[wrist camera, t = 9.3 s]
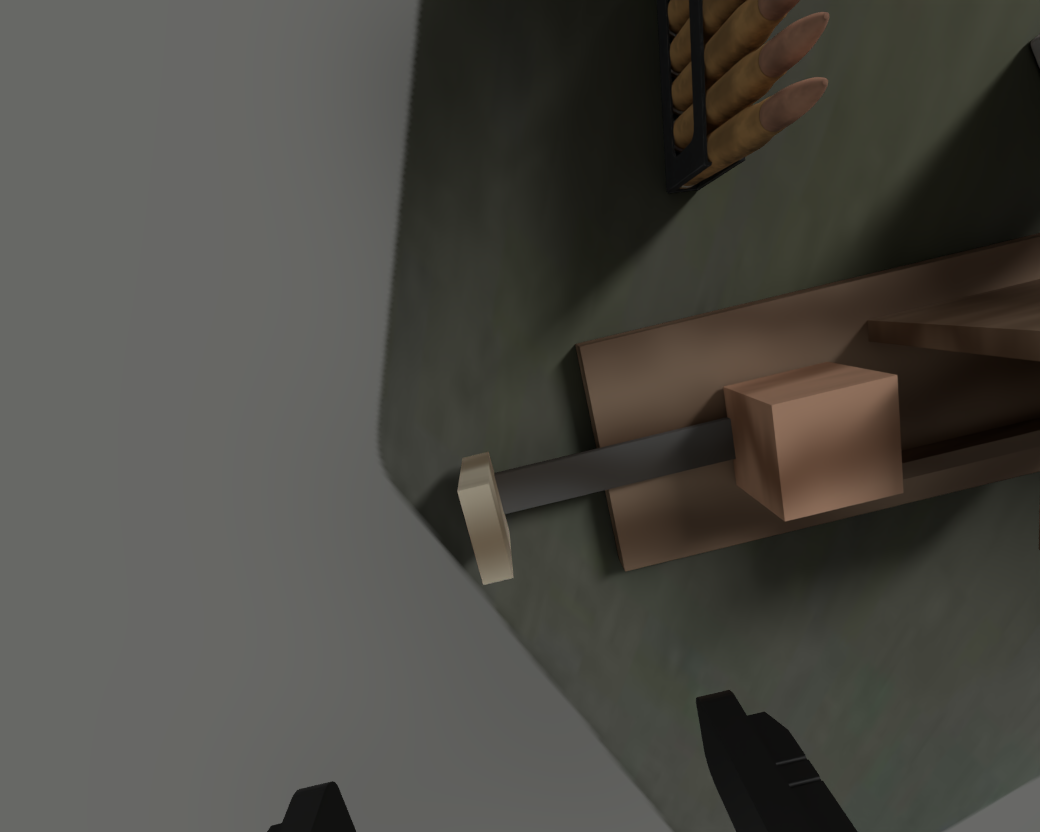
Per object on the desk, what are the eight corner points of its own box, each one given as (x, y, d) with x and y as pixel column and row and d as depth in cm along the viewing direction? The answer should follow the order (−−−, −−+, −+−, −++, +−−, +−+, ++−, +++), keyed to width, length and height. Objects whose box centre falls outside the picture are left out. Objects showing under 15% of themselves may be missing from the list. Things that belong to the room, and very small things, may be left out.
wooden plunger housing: (575, 344, 29) (632, 375, 18) (1047, 231, 29) (1413, 188, 18) (619, 559, 32) (691, 704, 21) (1043, 456, 33) (1349, 544, 21)
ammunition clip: (654, -37, 25) (798, -327, 13) (691, -41, 25) (866, -332, 14) (666, 194, 28) (796, 118, 16) (700, 190, 28) (853, 112, 16)
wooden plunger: (460, 449, 28) (454, 481, 23) (827, 361, 28) (897, 374, 24) (486, 545, 30) (485, 593, 25) (835, 461, 30) (903, 492, 25)
